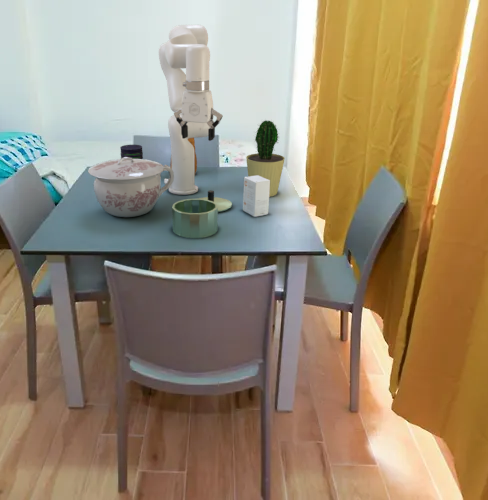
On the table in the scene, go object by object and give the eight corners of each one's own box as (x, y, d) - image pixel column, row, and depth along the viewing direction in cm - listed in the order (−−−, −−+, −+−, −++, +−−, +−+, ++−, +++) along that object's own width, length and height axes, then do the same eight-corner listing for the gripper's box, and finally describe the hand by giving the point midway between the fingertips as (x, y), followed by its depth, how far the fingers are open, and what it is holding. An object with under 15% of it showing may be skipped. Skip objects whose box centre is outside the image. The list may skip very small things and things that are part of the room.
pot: (165, 234, 164) (164, 210, 160) (184, 219, 176) (183, 196, 173) (207, 241, 158) (207, 216, 154) (223, 225, 171) (224, 202, 167)
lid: (182, 210, 185) (182, 195, 182) (199, 197, 198) (199, 183, 196) (223, 216, 179) (223, 200, 176) (237, 202, 192) (238, 187, 189)
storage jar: (127, 184, 216) (125, 150, 210) (119, 178, 224) (116, 146, 218) (147, 180, 221) (146, 147, 214) (138, 175, 228) (137, 143, 222)
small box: (268, 214, 180) (270, 180, 174) (254, 217, 177) (255, 182, 172) (256, 207, 186) (258, 174, 181) (242, 210, 184) (243, 176, 178)
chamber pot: (77, 219, 177) (71, 163, 169) (115, 196, 201) (111, 146, 192) (147, 229, 168) (144, 170, 159) (178, 204, 191) (176, 151, 182)
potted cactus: (237, 193, 202) (239, 119, 190) (257, 184, 213) (261, 114, 200) (269, 201, 193) (274, 124, 181) (289, 191, 204) (294, 118, 191)
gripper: (168, 86, 160) (170, 139, 167) (218, 88, 153) (217, 143, 160) (178, 84, 166) (179, 134, 173) (226, 86, 159) (225, 138, 167)
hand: (197, 138), depth 167 cm, fingers open, 9 cm apart
